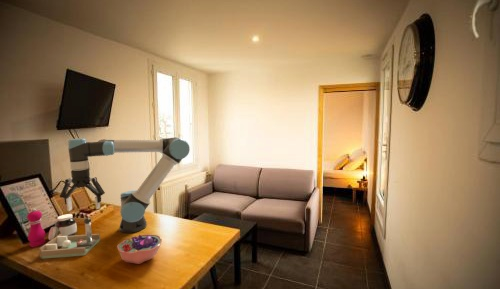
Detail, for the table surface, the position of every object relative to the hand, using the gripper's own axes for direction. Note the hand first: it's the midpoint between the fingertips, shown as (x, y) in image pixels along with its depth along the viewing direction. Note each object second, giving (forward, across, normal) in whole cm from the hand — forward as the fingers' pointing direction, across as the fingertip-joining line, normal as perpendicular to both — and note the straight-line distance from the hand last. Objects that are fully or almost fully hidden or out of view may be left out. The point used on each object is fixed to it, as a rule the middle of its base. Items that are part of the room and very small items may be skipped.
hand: (84, 209), depth 121 cm
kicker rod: (+19, 0, 0) cm, 19 cm away
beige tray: (+21, +7, 0) cm, 22 cm away
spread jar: (+21, +21, -14) cm, 33 cm away
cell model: (+21, -32, +16) cm, 41 cm away
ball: (+18, +10, 0) cm, 20 cm away
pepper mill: (+21, +29, -8) cm, 37 cm away
